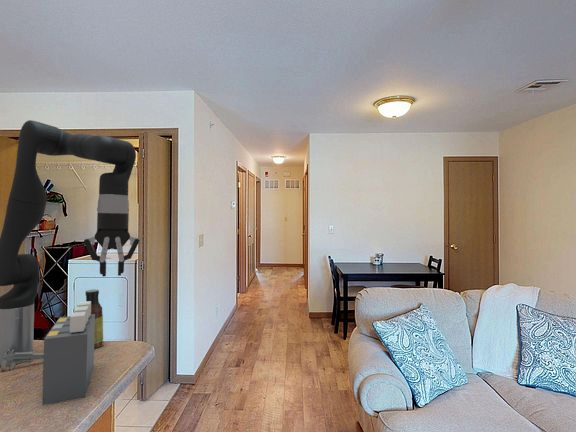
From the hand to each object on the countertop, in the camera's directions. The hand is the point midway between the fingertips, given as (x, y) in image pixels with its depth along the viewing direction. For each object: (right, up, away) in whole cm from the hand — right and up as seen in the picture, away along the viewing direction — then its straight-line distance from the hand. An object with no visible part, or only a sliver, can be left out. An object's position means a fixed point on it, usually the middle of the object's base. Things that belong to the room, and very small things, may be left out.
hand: (111, 275), depth 89 cm
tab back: (-12, -14, +7) cm, 20 cm away
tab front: (-7, -14, -3) cm, 16 cm away
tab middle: (-10, -14, +2) cm, 17 cm away
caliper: (-28, -30, +13) cm, 43 cm away
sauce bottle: (-21, -30, +27) cm, 45 cm away
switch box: (-12, -30, +1) cm, 32 cm away
